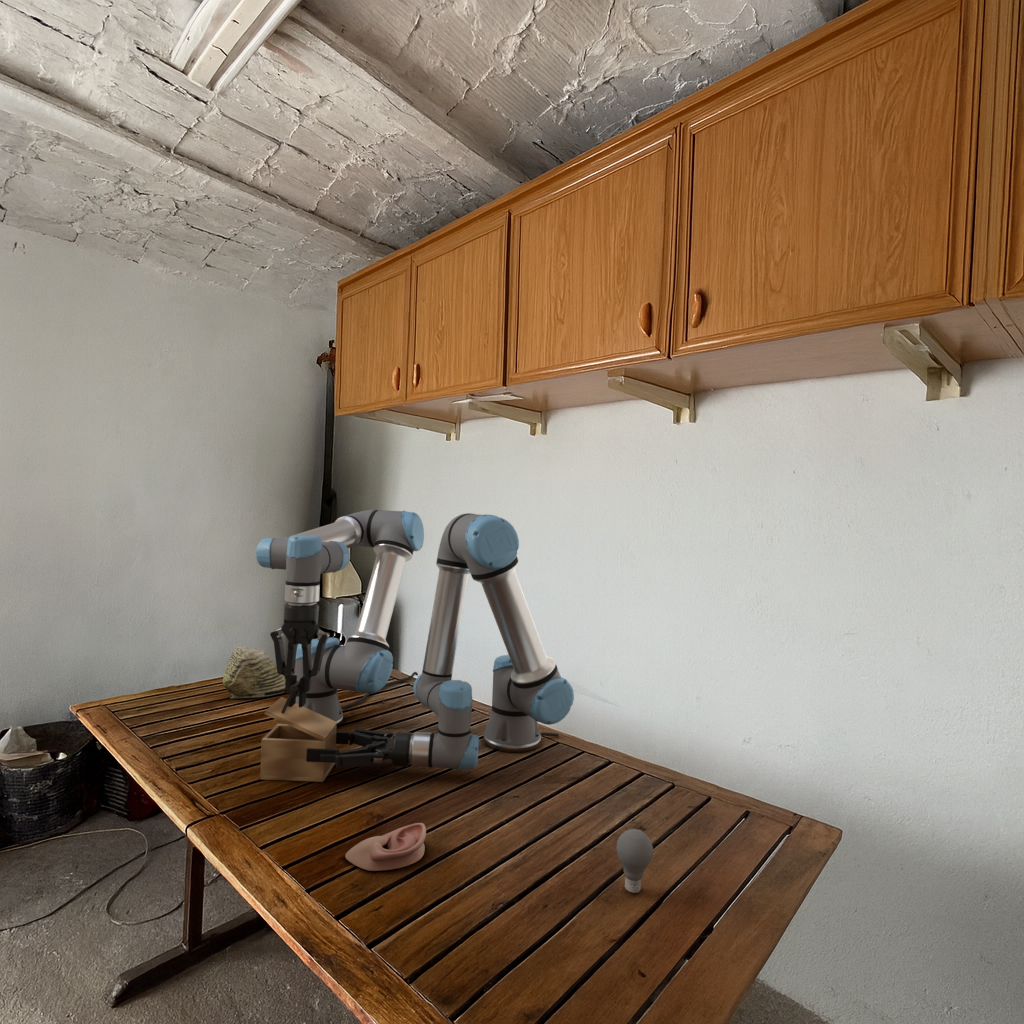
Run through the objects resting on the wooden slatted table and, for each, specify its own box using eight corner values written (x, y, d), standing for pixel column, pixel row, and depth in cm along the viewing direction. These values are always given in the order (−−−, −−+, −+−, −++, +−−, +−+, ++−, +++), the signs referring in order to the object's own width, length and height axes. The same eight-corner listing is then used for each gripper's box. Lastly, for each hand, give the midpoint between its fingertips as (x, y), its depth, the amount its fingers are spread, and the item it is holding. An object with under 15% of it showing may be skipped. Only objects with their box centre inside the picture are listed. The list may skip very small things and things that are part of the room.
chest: (260, 779, 141) (261, 739, 140) (276, 761, 150) (277, 723, 150) (323, 782, 141) (324, 741, 140) (335, 763, 150) (336, 726, 150)
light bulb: (610, 879, 108) (613, 822, 108) (644, 879, 109) (647, 822, 109) (619, 902, 102) (622, 840, 102) (655, 901, 103) (658, 840, 103)
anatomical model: (337, 842, 109) (366, 811, 120) (336, 865, 109) (365, 832, 120) (410, 854, 106) (432, 821, 117) (409, 878, 106) (432, 842, 118)
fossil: (218, 695, 195) (220, 647, 195) (278, 685, 208) (279, 640, 207) (228, 703, 189) (230, 653, 188) (289, 692, 201) (290, 645, 201)
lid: (264, 714, 140) (278, 682, 140) (280, 700, 150) (293, 670, 150) (323, 741, 140) (338, 709, 140) (335, 725, 150) (349, 695, 150)
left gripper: (263, 603, 141) (258, 708, 141) (329, 607, 141) (324, 712, 141) (275, 598, 148) (271, 698, 149) (338, 601, 148) (333, 701, 149)
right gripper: (402, 787, 134) (297, 783, 134) (417, 746, 157) (327, 743, 157) (404, 752, 134) (298, 748, 134) (418, 716, 157) (328, 713, 157)
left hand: (297, 705), depth 145 cm, fingers closed on lid, 2 cm apart
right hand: (314, 745), depth 145 cm, fingers closed on chest, 10 cm apart
